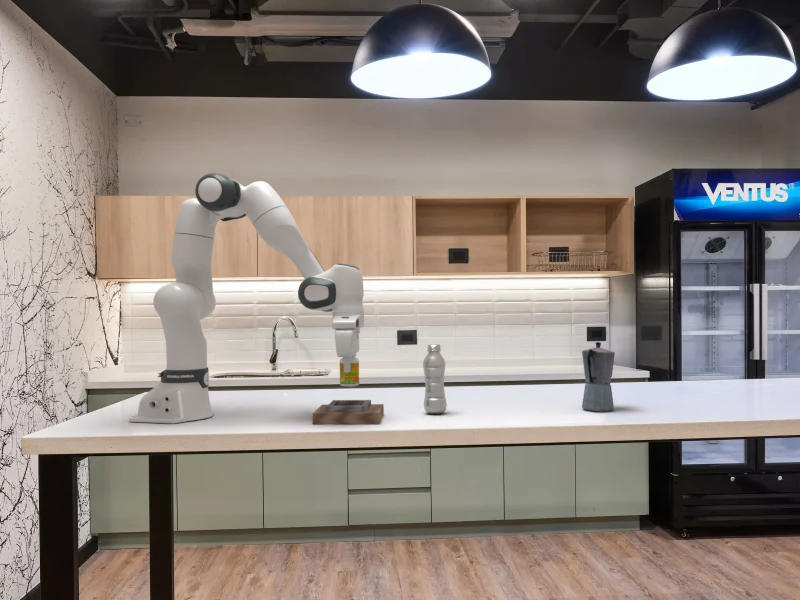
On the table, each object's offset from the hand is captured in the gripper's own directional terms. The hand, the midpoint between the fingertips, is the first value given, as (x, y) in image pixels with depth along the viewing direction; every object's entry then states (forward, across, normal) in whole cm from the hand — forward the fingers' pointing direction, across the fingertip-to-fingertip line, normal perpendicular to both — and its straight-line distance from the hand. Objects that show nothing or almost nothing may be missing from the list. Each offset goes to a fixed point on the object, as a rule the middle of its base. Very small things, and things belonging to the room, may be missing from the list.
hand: (349, 370), depth 158 cm
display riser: (+14, 0, 0) cm, 14 cm away
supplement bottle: (+4, 0, 0) cm, 4 cm away
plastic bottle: (+14, -8, +24) cm, 29 cm away
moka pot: (+14, -12, +72) cm, 74 cm away
